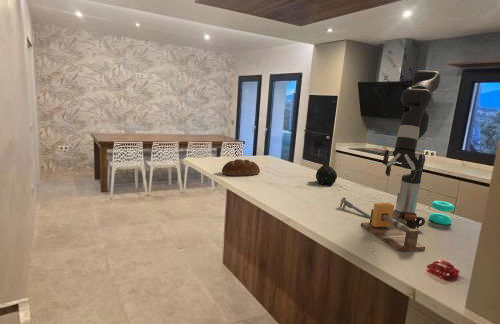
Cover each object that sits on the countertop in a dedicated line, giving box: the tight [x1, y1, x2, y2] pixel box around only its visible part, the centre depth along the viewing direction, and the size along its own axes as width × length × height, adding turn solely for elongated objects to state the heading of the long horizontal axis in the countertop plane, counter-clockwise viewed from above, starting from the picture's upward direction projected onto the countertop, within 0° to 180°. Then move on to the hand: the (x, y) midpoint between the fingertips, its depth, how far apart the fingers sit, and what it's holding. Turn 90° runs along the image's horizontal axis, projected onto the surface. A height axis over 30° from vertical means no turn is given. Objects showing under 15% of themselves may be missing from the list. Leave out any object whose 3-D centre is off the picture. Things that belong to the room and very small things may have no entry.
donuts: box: [428, 200, 455, 226], centre depth 160 cm, size 10×10×10 cm
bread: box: [221, 158, 261, 177], centre depth 234 cm, size 16×29×11 cm, turn 115°
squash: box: [315, 163, 338, 186], centre depth 223 cm, size 14×15×15 cm
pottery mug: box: [397, 212, 426, 230], centre depth 151 cm, size 12×10×8 cm
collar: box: [371, 202, 395, 227], centre depth 142 cm, size 3×8×10 cm, turn 104°
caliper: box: [339, 196, 371, 219], centre depth 165 cm, size 20×1×6 cm, turn 35°
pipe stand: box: [360, 208, 426, 253], centre depth 136 cm, size 26×12×8 cm, turn 14°
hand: (399, 177), depth 125 cm, fingers open, 8 cm apart
